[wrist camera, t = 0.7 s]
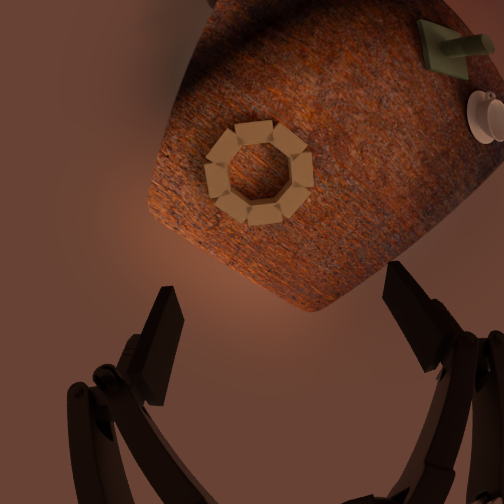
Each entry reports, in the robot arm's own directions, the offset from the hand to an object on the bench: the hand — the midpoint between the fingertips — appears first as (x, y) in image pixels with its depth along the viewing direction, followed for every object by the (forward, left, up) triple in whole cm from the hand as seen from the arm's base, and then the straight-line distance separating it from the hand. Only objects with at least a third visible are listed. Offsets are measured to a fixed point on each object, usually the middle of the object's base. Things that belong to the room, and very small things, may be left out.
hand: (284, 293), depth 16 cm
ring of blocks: (-3, 0, -24) cm, 24 cm away
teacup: (-12, +41, -24) cm, 49 cm away
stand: (-23, +32, -24) cm, 46 cm away
